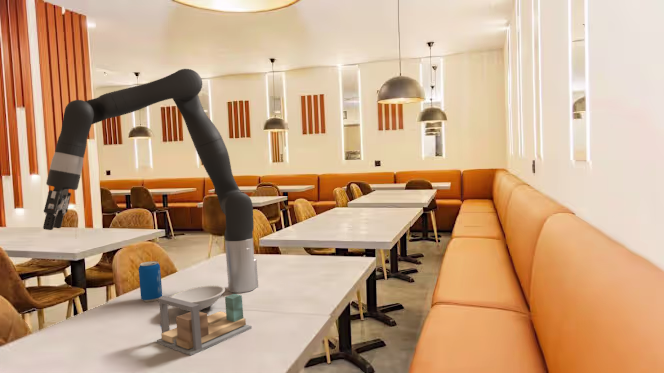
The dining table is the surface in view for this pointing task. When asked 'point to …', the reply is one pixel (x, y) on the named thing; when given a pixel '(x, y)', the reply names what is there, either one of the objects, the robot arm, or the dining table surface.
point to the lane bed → (195, 326)
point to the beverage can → (150, 281)
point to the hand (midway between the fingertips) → (52, 228)
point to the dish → (201, 295)
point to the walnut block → (190, 326)
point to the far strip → (170, 335)
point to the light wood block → (216, 317)
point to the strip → (232, 322)
